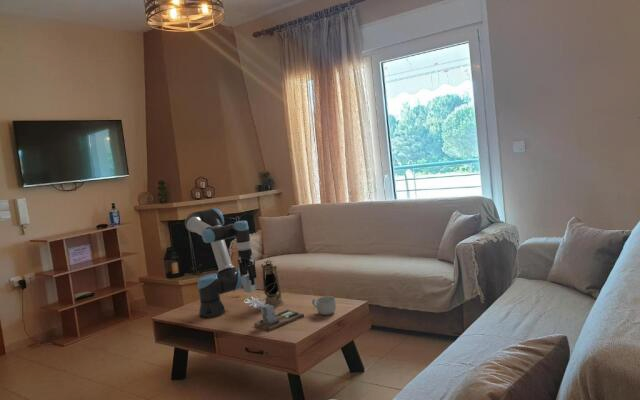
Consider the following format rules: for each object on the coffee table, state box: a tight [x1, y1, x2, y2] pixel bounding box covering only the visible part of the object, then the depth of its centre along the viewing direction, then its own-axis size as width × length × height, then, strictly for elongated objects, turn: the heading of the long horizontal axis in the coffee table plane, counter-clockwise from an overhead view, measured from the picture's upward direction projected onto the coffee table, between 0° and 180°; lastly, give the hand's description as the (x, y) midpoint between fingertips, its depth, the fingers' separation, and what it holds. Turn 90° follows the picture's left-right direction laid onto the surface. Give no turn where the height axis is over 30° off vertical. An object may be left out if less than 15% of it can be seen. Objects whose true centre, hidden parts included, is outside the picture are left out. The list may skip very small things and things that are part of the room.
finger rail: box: [253, 303, 305, 332], centre depth 253 cm, size 14×23×10 cm, turn 132°
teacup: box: [311, 295, 337, 316], centre depth 258 cm, size 14×11×8 cm
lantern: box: [260, 259, 285, 309], centre depth 283 cm, size 14×12×30 cm
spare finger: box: [242, 273, 258, 293], centre depth 261 cm, size 4×6×9 cm
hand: (250, 290), depth 261 cm, fingers closed on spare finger, 4 cm apart
